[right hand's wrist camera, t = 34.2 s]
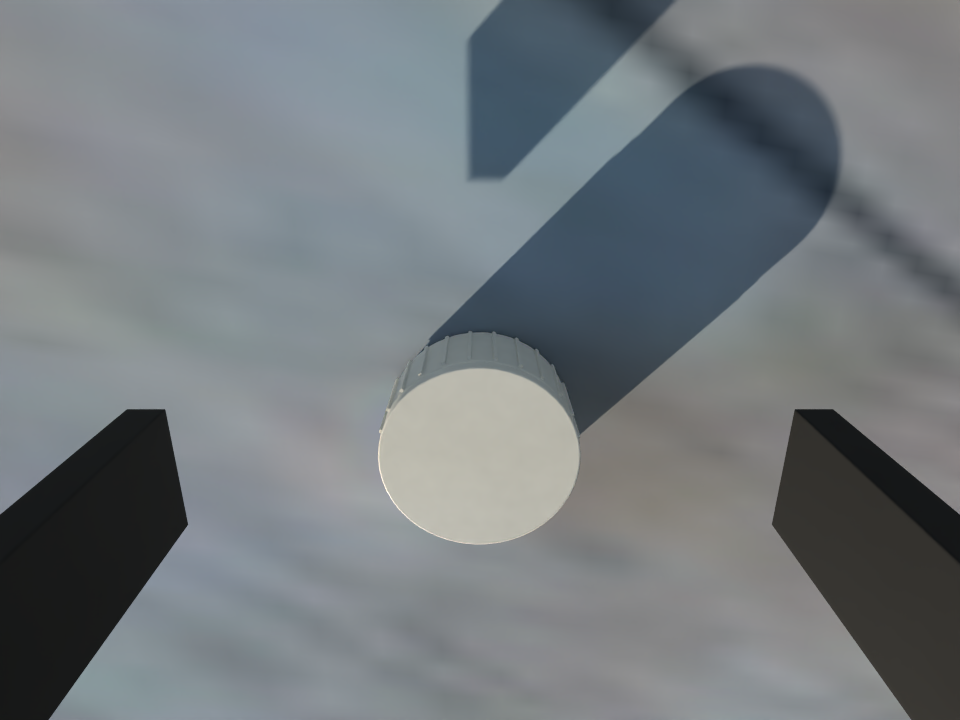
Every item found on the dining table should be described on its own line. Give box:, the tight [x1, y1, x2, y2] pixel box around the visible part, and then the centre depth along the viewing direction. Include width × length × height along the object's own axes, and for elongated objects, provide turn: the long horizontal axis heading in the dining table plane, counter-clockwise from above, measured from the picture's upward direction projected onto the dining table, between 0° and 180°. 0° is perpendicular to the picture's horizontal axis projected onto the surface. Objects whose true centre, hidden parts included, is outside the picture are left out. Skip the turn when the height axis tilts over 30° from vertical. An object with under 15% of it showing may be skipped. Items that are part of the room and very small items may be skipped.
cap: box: [378, 331, 581, 544], centre depth 14 cm, size 4×4×2 cm
